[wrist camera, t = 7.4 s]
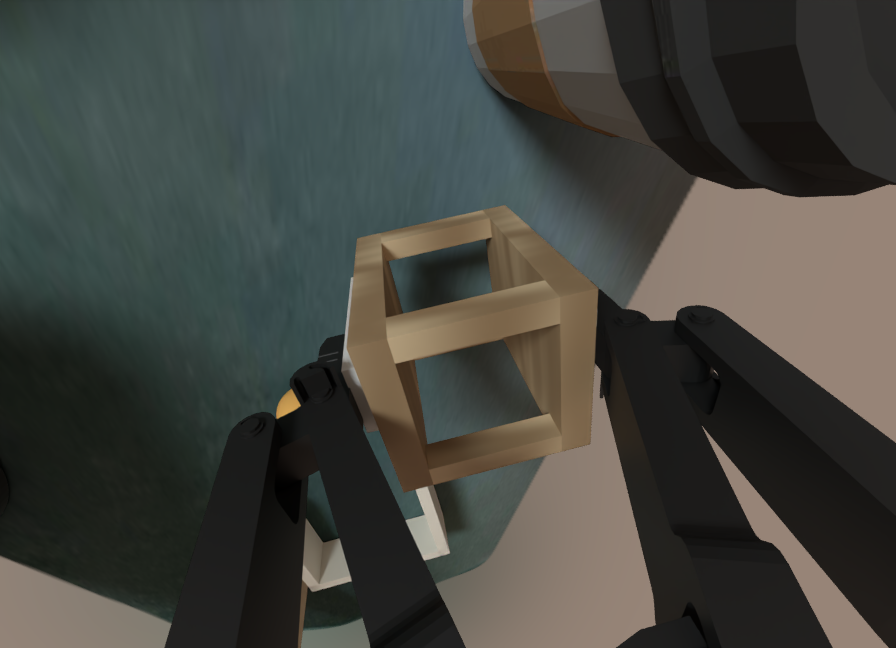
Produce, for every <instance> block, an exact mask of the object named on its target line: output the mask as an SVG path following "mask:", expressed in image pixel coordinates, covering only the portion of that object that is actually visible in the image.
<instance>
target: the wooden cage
mask: <svg viewBox="0 0 896 648" xmlns="http://www.w3.org/2000/svg"><path fill="white" fill-rule="evenodd" d="M482 239H486V244H487V253H488V261H489V269H490V277H491V285H492V293H489V294H484V295H480V296H476V297H472V298H467V299H463V300H459V301H455V302H451V303H446V304H442V305H438V306H434V307H429V308H425V309H421V310H417V311H412V312H408V313H404V314H403V311H402V308H401V304H400V301H399V297H398V293H397V290H396V286H395V283H394V279H393V275H392V272H391V268H390V265H389V261H391V260H395V259H399V258H404V257H408V256H412V255H417V254H421V253H426V252H430V251H434V250H439V249H443V248H447V247H452V246H456V245H460V244H465V243H469V242H474V241H478V240H482ZM597 304H598V287H596V286H595V285H594V284H593V283H592V282H591V281H590V280H589V279H588V278H586V277H585V276H584V275H583V274H582V273H581V272H580V271H579V270H577V269H576V268H575V267H574V266H573V265H572V264H571V263H570V262H568V261H567V260H566V259H565V258H564V257H563V256H562V255H561V254H559V253H558V252H557V251H556V250H555V249H554V248H553V247H552V246H550V245H549V244H548V243H547V242H546V241H545V240H544V239H543V238H541V237H540V236H539V235H538V234H537V233H536V232H535V231H534V230H532V229H531V228H530V227H529V226H528V225H527V224H526V223H525V222H523V221H522V220H521V219H520V218H519V217H518V216H517V215H516V214H515V213H513V212H512V211H511V210H510V209H509V208H508V207H507V206H506V205H503V206H499V207H494V208H490V209H485V210H481V211H476V212H472V213H468V214H463V215H459V216H454V217H450V218H445V219H441V220H436V221H432V222H428V223H423V224H419V225H414V226H410V227H405V228H401V229H396V230H392V231H388V232H383V233H379V234H374V235H370V236H365V237H361V238H357V246H356V256H355V266H354V276H353V286H352V297H351V307H350V317H349V327H348V338H347V351H348V354H349V356H350V359H351V361H352V364H353V366H354V369H355V371H356V374H357V376H358V379H359V381H360V384H361V386H362V389H363V391H364V394H365V396H366V399H367V401H368V404H369V406H370V409H371V411H372V414H373V416H374V419H375V421H376V424H377V426H378V429H379V431H380V434H381V436H382V439H383V441H384V444H385V446H386V449H387V451H388V454H389V456H390V459H391V461H392V464H393V466H394V469H395V471H396V474H397V476H398V479H399V481H400V484H401V486H402V489H403V491H404V492H408V491H412V490H416V489H419V488H423V487H427V486H431V485H435V484H439V483H442V482H446V481H450V480H454V479H458V478H462V477H466V476H469V475H473V474H477V473H481V472H485V471H489V470H493V469H496V468H500V467H504V466H508V465H512V464H516V463H519V462H523V461H527V460H531V459H535V458H539V457H543V456H546V455H550V454H554V453H558V452H562V451H566V450H569V449H573V448H577V447H581V446H585V445H589V444H590V438H591V420H592V400H593V381H594V362H595V342H596V323H597ZM501 339H503V340H504V341H505V343H506V345H507V347H508V349H509V351H510V353H511V355H512V357H513V359H514V361H515V363H516V365H517V366H518V368H519V370H520V372H521V374H522V376H523V378H524V380H525V382H526V384H527V386H528V388H529V390H530V391H531V393H532V395H533V397H534V399H535V401H536V403H537V405H538V407H539V409H540V411H541V413H542V416H538V417H534V418H530V419H526V420H522V421H518V422H514V423H510V424H506V425H502V426H498V427H494V428H490V429H487V430H483V431H479V432H475V433H471V434H467V435H463V436H459V437H455V438H451V439H447V440H443V441H439V442H435V443H431V444H428V445H427V438H426V432H425V425H424V419H423V413H422V406H421V400H420V393H419V387H418V380H417V374H416V367H415V360H419V359H423V358H427V357H431V356H435V355H439V354H443V353H448V352H452V351H456V350H460V349H464V348H468V347H472V346H476V345H480V344H485V343H489V342H493V341H497V340H501Z"/></svg>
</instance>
